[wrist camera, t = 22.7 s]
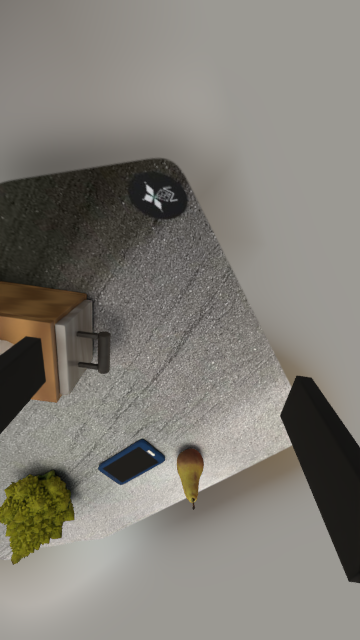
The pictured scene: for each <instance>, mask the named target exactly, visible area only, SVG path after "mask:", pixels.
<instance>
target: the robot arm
mask: <svg viewBox="0 0 360 640" xmlns="http://www.w3.org/2000/svg"><path fill="white" fill-rule="evenodd" d="M45 382H46V376H45V368H44V360H43V351H42V343H41V338H36V337H29V336H25V337H24V338H23V339H21V340H20V341H19V342H17V343H16V344H15V345H13V346H12V347H11V348H9V349H8V350H7V351H5V352H4V353H3V354H1V355H0V434H1V433H2V432H3V430H4V429H5V428H6V427H7V426H8V425H9V424H10V422H11V421H12V420H13V419H14V418H15V417H16V416H17V414H18V413H19V412H20V411H21V410H22V409H23V407H24V406H25V405H26V404H27V403H28V402H29V401H30V399H31V398H32V397H33V396H34V395H35V394H36V393H37V391H38V390H39V389H40V388H41V387H42V386H43V385H44V383H45ZM280 416H281V419H282V421H283V424H284V426H285V428H286V431H287V433H288V436H289V438H290V441H291V443H292V445H293V448H294V450H295V453H296V455H297V457H298V460H299V462H300V465H301V467H302V470H303V472H304V474H305V476H306V479H307V481H308V484H309V486H310V489H311V491H312V493H313V496H314V499H315V501H316V503H317V506H318V508H319V510H320V513H321V515H322V518H323V520H324V522H325V525H326V527H327V530H328V532H329V535H330V537H331V539H332V542H333V544H334V547H335V549H336V551H337V554H338V556H339V559H340V561H341V564H342V566H343V568H344V571H345V573H346V576H347V578H348V581H349V582H356V583H360V447H359V445H358V444H357V443H356V441H355V440H354V438H353V437H352V435H351V434H350V433H349V431H348V430H347V428H346V427H345V425H344V424H343V422H342V421H341V420H340V418H339V417H338V415H337V414H336V412H335V411H334V410H333V408H332V407H331V405H330V404H329V402H328V401H327V399H326V398H325V397H324V395H323V394H322V392H321V391H320V389H319V388H318V386H317V385H316V384H315V382H314V381H313V379H312V378H309V377H303V376H296V378H295V381H294V383H293V386H292V388H291V390H290V393H289V395H288V398H287V400H286V402H285V405H284V407H283V410H282V412H281V415H280Z"/></svg>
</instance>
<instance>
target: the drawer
mask: <svg viewBox="0 0 360 640" xmlns="http://www.w3.org/2000/svg"><path fill="white" fill-rule="evenodd" d="M54 330H55V342H56V355H57V368H58V377H59V384H60V394H62V395H70V393H71V392H72V390H73V388H74V387H75V385H76V384H77V382H78V381H79V379H80V378H81V376H82V375H83V373H84V372H85V370H86V369H87V368H89V369H96V370H98V372H99V373H101V374H106V373H108V372H109V370H110V336H111V334H110V333H109V332H100V333H99V334H98V333H93V332H92V300H83V301H82V302H81V303H80V304H79V305H77V306H76V307H75V308H74V309H73V310H71V311H70V312H69V313H68V314H67V315H66V316H64V317H63V318H62V319H61V320H60V321H58V322H57V323H56V324H55V327H54ZM93 339H98V364H93V363H90V362H91V361H92V359H93Z"/></svg>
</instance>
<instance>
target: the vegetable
mask: <svg viewBox="0 0 360 640" xmlns="http://www.w3.org/2000/svg"><path fill="white" fill-rule="evenodd" d="M11 483H12V484H11V485H10V486H9V487H7V488H6V489H5V490H4V491H5V493H6V497H7V499H6V500H5V502H4V503H3V505H2V506H1V507H0V522H1V523H2V524H3V523H4V525H6V524H7V526H6V527H7V528H6V529H7V530H6V536H10V539H9V540H10V542H11V543H10V547H12V548H11V549H13V550H12V552H13V554H12V557H11V561H12V563H13V565H14V564H16V563H18V562H19V561H20V560H21V558H23V557H24V558H25V557H26V556H28V555H29V554H30V553H34V549H36V550H39V547H40V545H41V544H42V545H44V543H47V544H49V541H50V538H51V539H58V538H62V526H63V523H64V522H65V521H71V520H74V510H73V508H74V507H73V506H72V505H73V504H72V503H71V499H70V497H71V492H70V490H67V487H65V485H66V483H64V482H63V481H60V478H58V476H55V471H54V470H52V471H50V472H48V473H47V474H45V475H43V476H42V475H38V477H37V476H32V475H31V474H30V475H28V476H27V477H26V478H23V479H22V480H19V481H18V482H17V483H14V482H11ZM6 536H5V537H6Z"/></svg>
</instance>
